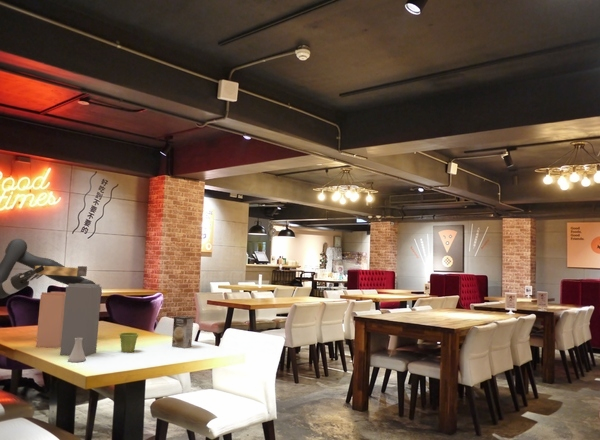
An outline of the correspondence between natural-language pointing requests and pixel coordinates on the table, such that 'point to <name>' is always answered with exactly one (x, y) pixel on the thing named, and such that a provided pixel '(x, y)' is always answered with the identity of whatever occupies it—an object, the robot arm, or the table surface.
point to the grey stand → (81, 317)
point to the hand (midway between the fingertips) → (45, 267)
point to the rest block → (50, 319)
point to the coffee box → (182, 331)
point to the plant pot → (128, 341)
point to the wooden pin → (64, 271)
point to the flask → (77, 352)
